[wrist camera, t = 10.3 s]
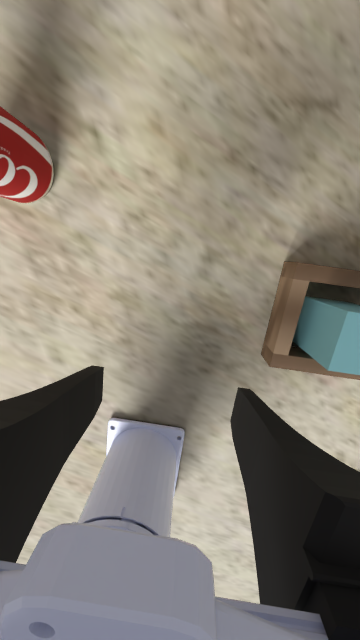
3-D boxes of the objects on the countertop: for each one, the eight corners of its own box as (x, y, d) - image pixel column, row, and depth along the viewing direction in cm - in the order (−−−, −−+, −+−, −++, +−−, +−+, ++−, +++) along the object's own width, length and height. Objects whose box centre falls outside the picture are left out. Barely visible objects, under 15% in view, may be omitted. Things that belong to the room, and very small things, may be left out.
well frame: (351, 367, 21) (372, 381, 18) (260, 354, 21) (269, 366, 19) (386, 275, 19) (415, 278, 16) (284, 261, 19) (297, 262, 16)
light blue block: (334, 345, 20) (389, 379, 15) (289, 338, 20) (327, 370, 15) (348, 302, 19) (414, 320, 14) (301, 295, 19) (348, 311, 14)
